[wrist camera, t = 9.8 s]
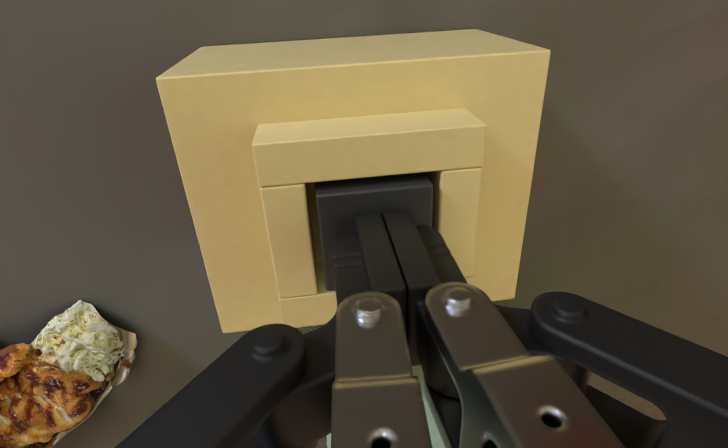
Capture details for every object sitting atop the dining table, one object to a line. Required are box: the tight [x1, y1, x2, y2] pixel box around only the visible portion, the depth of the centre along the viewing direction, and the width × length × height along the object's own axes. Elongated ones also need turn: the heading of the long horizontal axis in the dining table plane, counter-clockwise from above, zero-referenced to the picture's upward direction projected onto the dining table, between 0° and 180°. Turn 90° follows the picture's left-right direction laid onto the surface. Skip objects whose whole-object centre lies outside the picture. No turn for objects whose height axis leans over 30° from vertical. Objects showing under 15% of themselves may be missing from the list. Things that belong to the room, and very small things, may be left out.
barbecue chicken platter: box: [0, 300, 138, 448], centre depth 22 cm, size 7×12×4 cm, turn 130°
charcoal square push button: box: [315, 172, 433, 291], centre depth 14 cm, size 3×3×2 cm
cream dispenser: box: [156, 29, 551, 333], centre depth 16 cm, size 11×9×8 cm
